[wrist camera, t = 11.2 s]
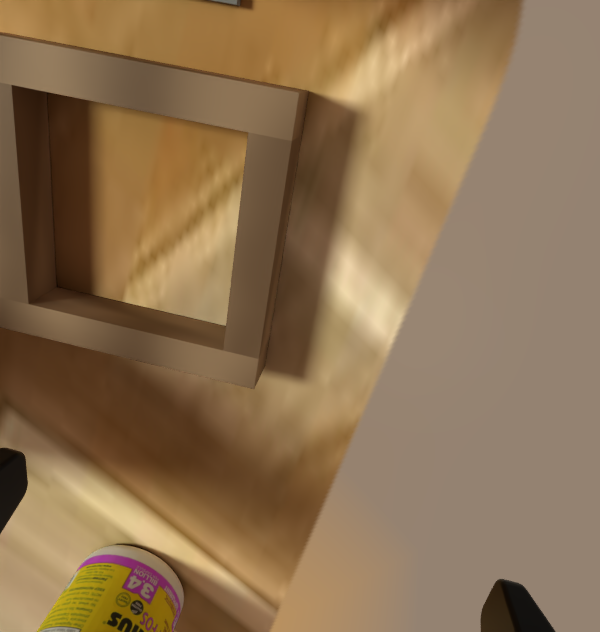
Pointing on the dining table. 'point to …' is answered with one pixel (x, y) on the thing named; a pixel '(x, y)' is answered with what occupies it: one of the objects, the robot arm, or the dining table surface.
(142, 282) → the dining table surface
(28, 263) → the walnut collar stand
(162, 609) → the supplement bottle
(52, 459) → the dining table surface
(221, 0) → the grey flat square slab
